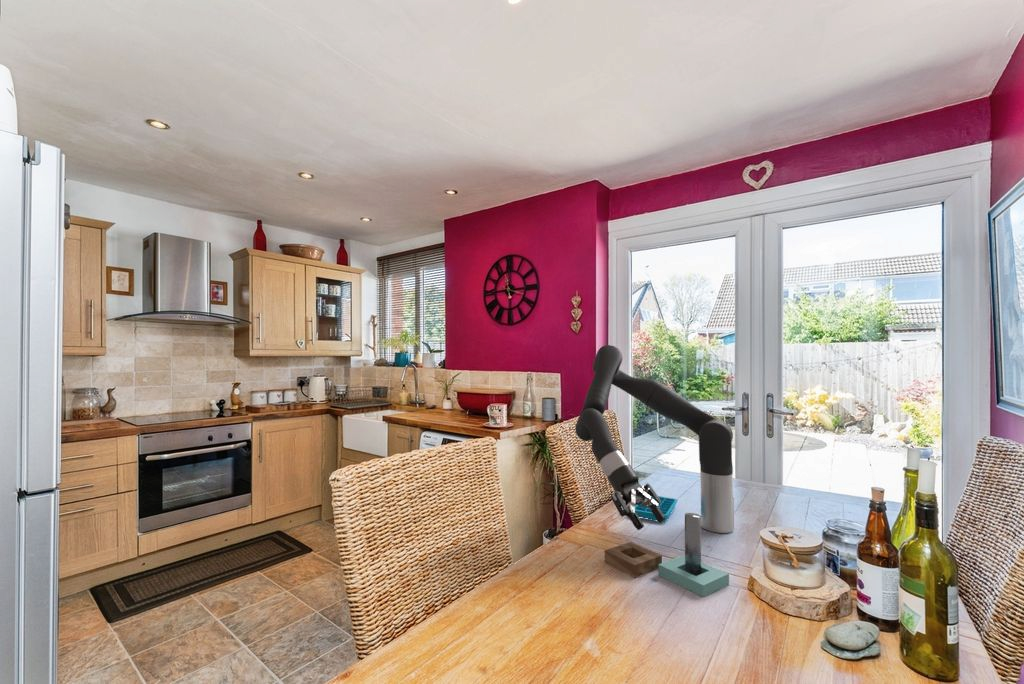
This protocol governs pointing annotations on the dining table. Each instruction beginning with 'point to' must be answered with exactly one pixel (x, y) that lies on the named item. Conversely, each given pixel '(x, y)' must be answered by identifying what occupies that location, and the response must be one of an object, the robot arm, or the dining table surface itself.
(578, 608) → the dining table surface
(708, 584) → the teal square hole base
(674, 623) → the dining table surface
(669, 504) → the ice cube tray
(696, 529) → the rod
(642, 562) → the socket block
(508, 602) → the dining table surface
